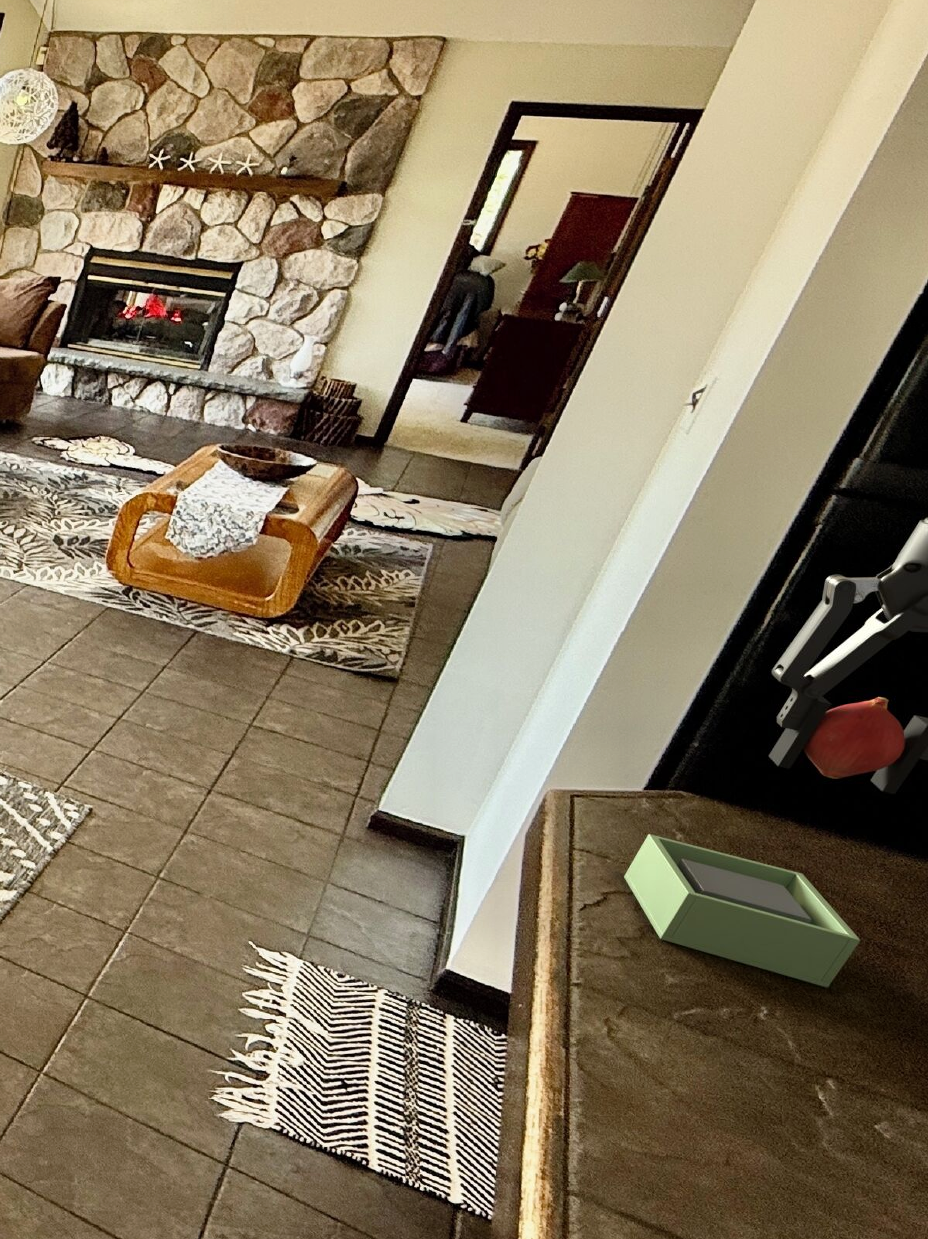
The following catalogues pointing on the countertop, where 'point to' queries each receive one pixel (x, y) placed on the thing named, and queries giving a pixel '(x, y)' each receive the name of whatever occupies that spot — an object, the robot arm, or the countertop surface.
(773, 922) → the crate
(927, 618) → the robot arm
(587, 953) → the countertop surface
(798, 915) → the block
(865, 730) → the onion
